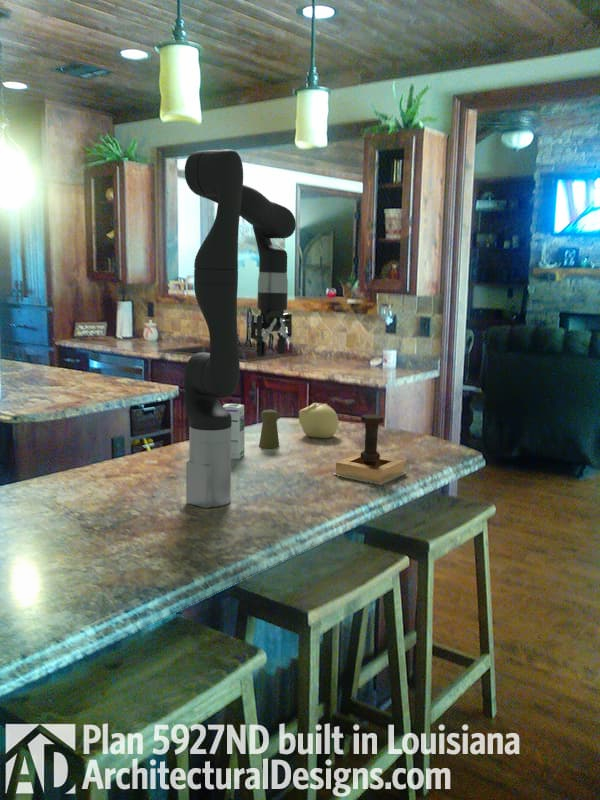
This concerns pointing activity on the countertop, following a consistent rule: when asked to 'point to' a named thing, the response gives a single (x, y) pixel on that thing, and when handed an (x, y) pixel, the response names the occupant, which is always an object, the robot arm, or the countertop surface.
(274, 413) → the cork
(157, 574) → the countertop surface
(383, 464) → the receiver
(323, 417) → the sculpture
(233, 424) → the syrup box
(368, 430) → the bolt
